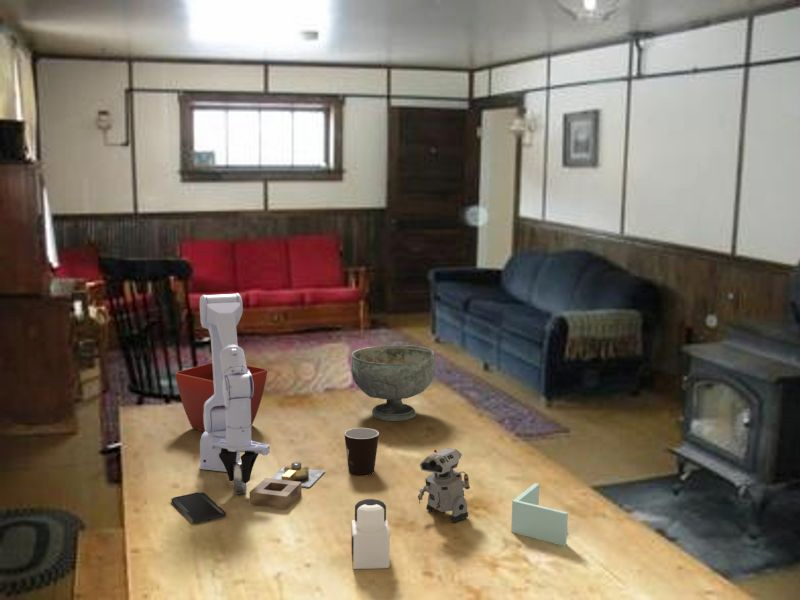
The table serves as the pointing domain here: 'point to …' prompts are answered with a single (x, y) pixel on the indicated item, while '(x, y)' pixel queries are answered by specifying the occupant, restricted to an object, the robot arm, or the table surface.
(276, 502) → the socket block
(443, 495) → the figurine
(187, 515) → the phone
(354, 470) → the coffee mug
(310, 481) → the plate
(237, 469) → the pin
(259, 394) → the plant pot
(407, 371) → the decorative bowl
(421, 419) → the table surface
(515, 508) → the l-shaped corner panel
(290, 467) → the ring nut
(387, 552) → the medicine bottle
